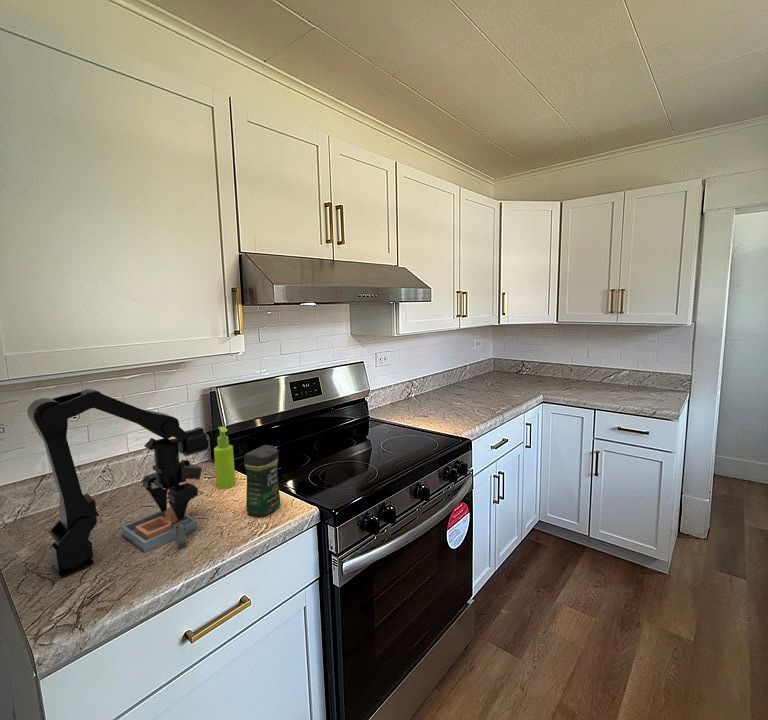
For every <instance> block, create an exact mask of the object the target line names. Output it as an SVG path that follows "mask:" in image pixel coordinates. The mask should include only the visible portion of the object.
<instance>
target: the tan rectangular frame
mask: <svg viewBox="0 0 768 720" xmlns="http://www.w3.org/2000/svg"><path fill="white" fill-rule="evenodd" d="M175 521H178V520H177V518H176V516H175V514H174V512H173V510H172V508H171V509H169V510H166V511H165V517H163V516H160V517H158V518H155V519H153V520H150V521H148V522H145V523H143V524H140V525H138V526H136V527H135V534H137V535H138V536H140V537H141V538H143V539H144V540H145V541H147V540H149V539H151V538H154V537H156V536H158V535H161V534H163V533H165V532H168V531H170V530H172V529H174V528H175V527H174V528H173V527H171V523H173V522H175ZM160 525H161V526H162V527H161V528H158V529H156V530H153V531H151V532H148V530H151V529H153V528H156V527H158V526H160Z"/></svg>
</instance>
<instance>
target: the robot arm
mask: <svg viewBox="0 0 768 720" xmlns="http://www.w3.org/2000/svg"><path fill="white" fill-rule="evenodd" d="M91 409H96V410H99V411H101V412H103V413H107V414H110V415H112V416H115V417H118V418H121V419H123V420H126V421H129V422H132V423H134V424H137V425H138V426H140V427H142V428H143V429H145V430H146V431H148V432H150V433H151V434H154V435H156V436H158V437H160V438H159V439H155V438H153V437H150V439H149V441H148V442H145V444H144V447H143V448H146V449H148V450H150V451H152V450H153V454H154V463H155V465H152V467H151V468H152V470H153V471H155V472H154V473H153V472H152V473H150V474H146V475H145V476H144V477H143V478H142V480H141V481H142V482H141V483H142V487H143V488H145V491H147V493H148V495H149V496H150V497H151V499H152V500H153V501H154V503H155V504H156V506H157V507H158V509H159V510H160V511H162V512H164V511H166V509H167V506H168V505H167V504H169V505H170V507H171V508H172V510H173V512H174V514H175V516H176V518H177V520H180V519H182V518H184V515H185V514H186V511H187V509H188V506H189V505H188V504H189V502H190V501H191V500H192V499H194V498H195V497H198V496H199V488H198V487H197V486H196V485H193V484H191V483H190V484H189V483H185V484H182V485H179V483H181V482H182V483H183V482H185V481H186V479H190V480H200V477H201V475H202V470H203V468H202V467H201V466H199V465H196V464H191V462H190V461H189V460H187V459H186V460H182V461H181V462H179V452H180V453H181V454H182V453H183V455H184V456H185V457H188V456H191V455H195V454H198V453H203V452H205V451H208V449H209V446H210V445H209V444H210V443H209V440H208V437H207V435H206V433H205V429H204V428H203V427H200V426H199V427H195V428H193V429H189V430H184V429H182V428H181V426H180V421H179V419H178V418H176V417H174V416H171V415H169V414H167V413H163V412H158V411H154V410H149V409H148V410H146V409H142V408H140V407H136V406H134V405H132V404H129V403H127V402H124V401H121V400H119V399H116V398H113V397H111V396H109V395H105V394H103V393H101V392H100V391H98V390H95V389H92V388H86V389H84V390H81V391H78V392H75V393H69V394H65V395H60V396H56V397H54V398H49V397H44V398H43V397H42V398H38V399H36V400H34V401H32V402H31V403H30V405H29V406H28V408H27V416H28V418H29V420H30V422H31V424H32V425H33V427H34V429H35V430H36V432H37V434H38V435H39V437H40V438H41V440H42V441H43V444H44V448H45V451H46V455H47V458H48V460H49V464H50V467H51V472H52V474H53V478H54V481H55V484H56V485H55V486H56V488H57V492H58V494H59V505H58V513H59V514H58V515H59V520H58V521H57V522H56V523H55V525H54V526H53V527H52V528H51V529H50V530H49V533H48V534H49V535H50V536H51V538H52V539H53V541H54V542H55V543H52V544H51V550H52V551H51V552H52V559H53V564H52V565H51V569H52V570H53V571H54V572H55V573H56V574H57V576H59V578H65V577H66V576H68V575H70V574H74V573H75V572H78V571H81V570H82V569H85V568H87V567H89V566H92V565H94V563H95V561H94V560H93V558H94V551H93V543H92V541H91V540H90V539H89V538H90V535H91V531H92V530H93V529H95V527H96V526H97V524H98V517H100V513H99V512H98V511H97V507H96V506H97V505H96V500H95V499H94V498H93V497H92V496H91V495H90V494H89V493H85V494H83V491H82V488H81V484H80V480H79V478H78V477H79V476H78V473H77V470H76V466H75V464H74V460H73V456H72V453H71V450H70V446H69V443H68V437H67V436H68V427H69V424H68V422H69V421H68V419H71V418H73V417H76V416H78V415H80V414H83V413H84V412H87V411H88V410H91ZM170 437H175V439H170V440H169V439H168V438H170ZM167 490H170V491H169V492H168V491H167ZM167 502H168V503H167Z"/></svg>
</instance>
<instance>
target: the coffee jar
mask: <svg viewBox="0 0 768 720" xmlns="http://www.w3.org/2000/svg"><path fill="white" fill-rule="evenodd" d="M278 453H279V452H278V449H277V447H276V446H274V445H268V444H264V445H261V446H260V447H258V448H255V449H252V450H251V451H249V452H247V453H245V454H244V460H243V462H244V463H243V464H244V468H245V473H246V504H245V505H246V506H245V507H246V512H247V514H250V516H254V517H261V516H263V517H264V516H267V515H269V514H271V513H272V512H274V511H276V510H277V509H278V508H279V507H280V505H281V494H280V487H279V486H280V485H279V479H278V478H279V477H278V463H279V454H278Z"/></svg>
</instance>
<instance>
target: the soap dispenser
mask: <svg viewBox="0 0 768 720" xmlns="http://www.w3.org/2000/svg"><path fill="white" fill-rule="evenodd" d="M218 430H219V436H218V437H216V438H217V439H216V440H217V445H216V446H215V447H214V448H213V454H214V466H215V467H214V470H215V482H216V488H217V487H218V488H217V489H219V488H221V489H220V490H224V489H223V488H228V489H230V487H231V488H233V487H235V486H234V485H236V472H235V458H234V457H235V455H234V446H233V445H232V444H229V443H230V442H229V436H228V435H226V433H228V432H229V431H228V428H227V427H226V426H218Z"/></svg>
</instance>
